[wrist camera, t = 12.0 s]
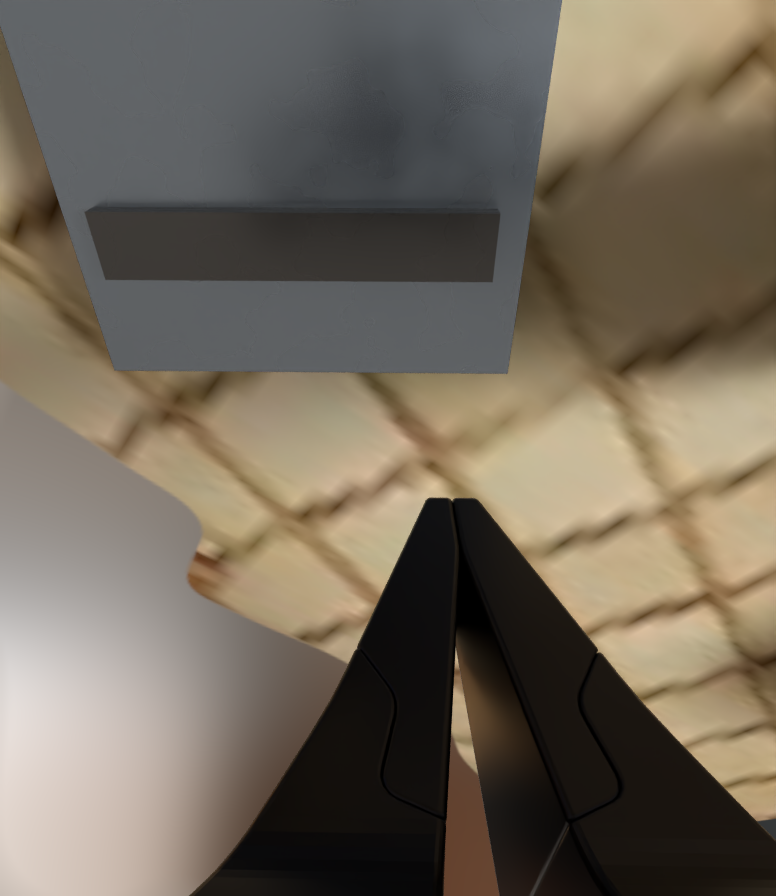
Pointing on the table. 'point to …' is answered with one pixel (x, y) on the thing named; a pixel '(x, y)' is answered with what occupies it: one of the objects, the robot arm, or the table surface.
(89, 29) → the jig
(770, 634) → the table surface
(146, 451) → the table surface
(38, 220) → the table surface
